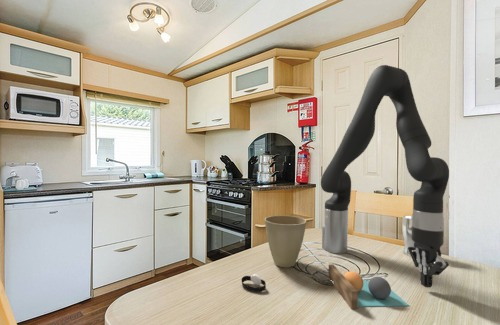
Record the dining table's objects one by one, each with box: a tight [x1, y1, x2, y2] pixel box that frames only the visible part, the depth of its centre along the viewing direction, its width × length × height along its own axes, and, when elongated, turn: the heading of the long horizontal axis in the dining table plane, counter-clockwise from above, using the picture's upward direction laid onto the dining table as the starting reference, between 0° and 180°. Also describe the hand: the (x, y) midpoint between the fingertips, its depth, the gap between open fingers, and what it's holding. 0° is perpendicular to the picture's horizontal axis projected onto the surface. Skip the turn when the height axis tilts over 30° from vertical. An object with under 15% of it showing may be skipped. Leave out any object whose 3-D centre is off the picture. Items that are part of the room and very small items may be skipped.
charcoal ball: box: [368, 276, 392, 299], centre depth 68 cm, size 6×6×6 cm
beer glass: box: [401, 215, 414, 257], centre depth 100 cm, size 7×7×15 cm
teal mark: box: [357, 281, 410, 308], centre depth 71 cm, size 14×14×1 cm
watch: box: [241, 274, 267, 293], centre depth 72 cm, size 8×5×4 cm, turn 60°
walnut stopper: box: [327, 264, 358, 310], centre depth 70 cm, size 16×2×4 cm, turn 3°
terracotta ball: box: [343, 270, 364, 292], centre depth 71 cm, size 6×6×6 cm
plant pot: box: [264, 214, 307, 268], centre depth 90 cm, size 15×15×16 cm
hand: (426, 285), depth 72 cm, fingers closed
